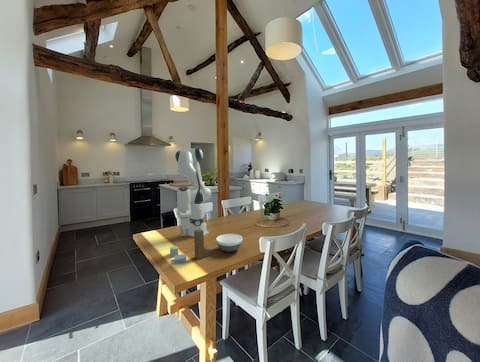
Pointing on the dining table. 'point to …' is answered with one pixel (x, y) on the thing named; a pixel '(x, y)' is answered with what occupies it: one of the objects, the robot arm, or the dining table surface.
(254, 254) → the dining table surface
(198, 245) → the wooden block
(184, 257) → the slate blue block
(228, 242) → the bowl
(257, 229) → the dining table surface
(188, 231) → the pinkish brown cube
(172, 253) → the sage green cube
